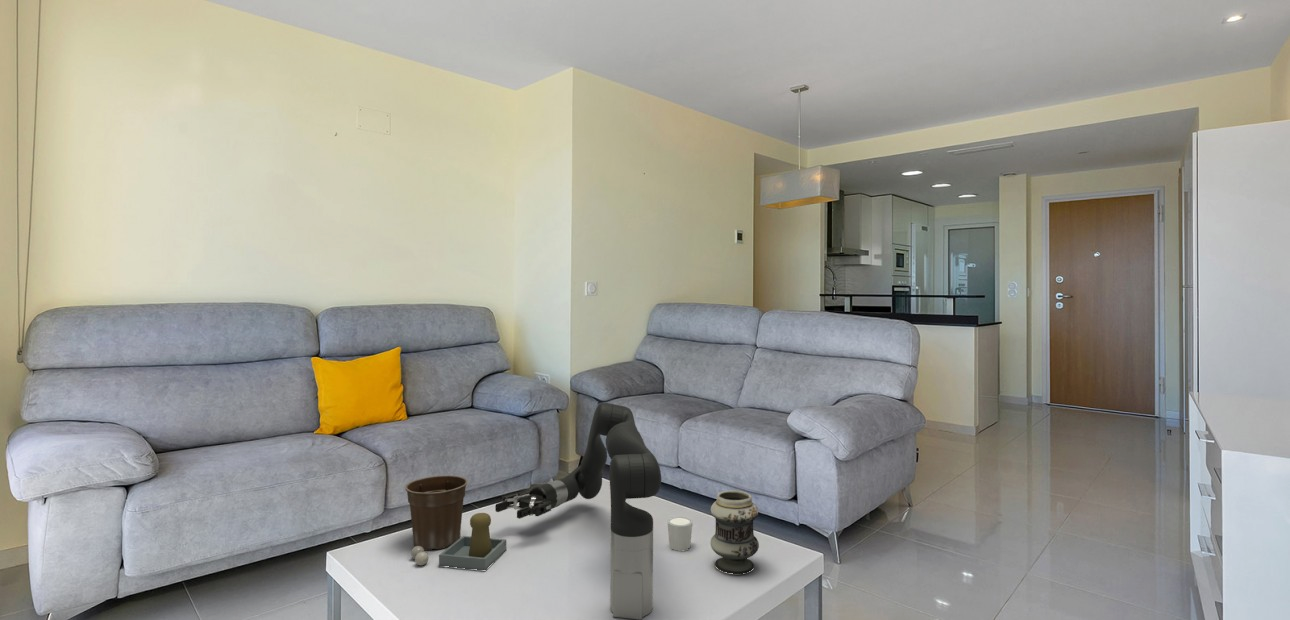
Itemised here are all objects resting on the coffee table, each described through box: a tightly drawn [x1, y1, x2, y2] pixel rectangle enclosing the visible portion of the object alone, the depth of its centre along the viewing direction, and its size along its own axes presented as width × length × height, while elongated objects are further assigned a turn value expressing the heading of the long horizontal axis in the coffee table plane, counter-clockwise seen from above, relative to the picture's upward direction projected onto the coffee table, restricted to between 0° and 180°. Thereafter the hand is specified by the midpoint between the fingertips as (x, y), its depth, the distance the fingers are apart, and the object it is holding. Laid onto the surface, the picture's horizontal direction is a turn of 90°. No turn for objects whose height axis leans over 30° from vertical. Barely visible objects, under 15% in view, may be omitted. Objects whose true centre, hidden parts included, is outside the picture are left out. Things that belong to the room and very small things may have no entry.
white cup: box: [667, 516, 693, 552], centre depth 161 cm, size 7×7×7 cm
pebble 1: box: [410, 546, 425, 560], centre depth 153 cm, size 3×3×3 cm
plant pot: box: [404, 475, 468, 551], centre depth 164 cm, size 16×16×16 cm
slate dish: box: [438, 535, 507, 571], centre depth 153 cm, size 12×12×3 cm
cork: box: [469, 512, 492, 558], centre depth 153 cm, size 6×6×11 cm
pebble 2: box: [414, 551, 430, 566], centre depth 150 cm, size 3×3×3 cm
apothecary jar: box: [709, 490, 760, 575], centre depth 150 cm, size 12×12×18 cm
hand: (506, 511), depth 162 cm, fingers open, 8 cm apart
